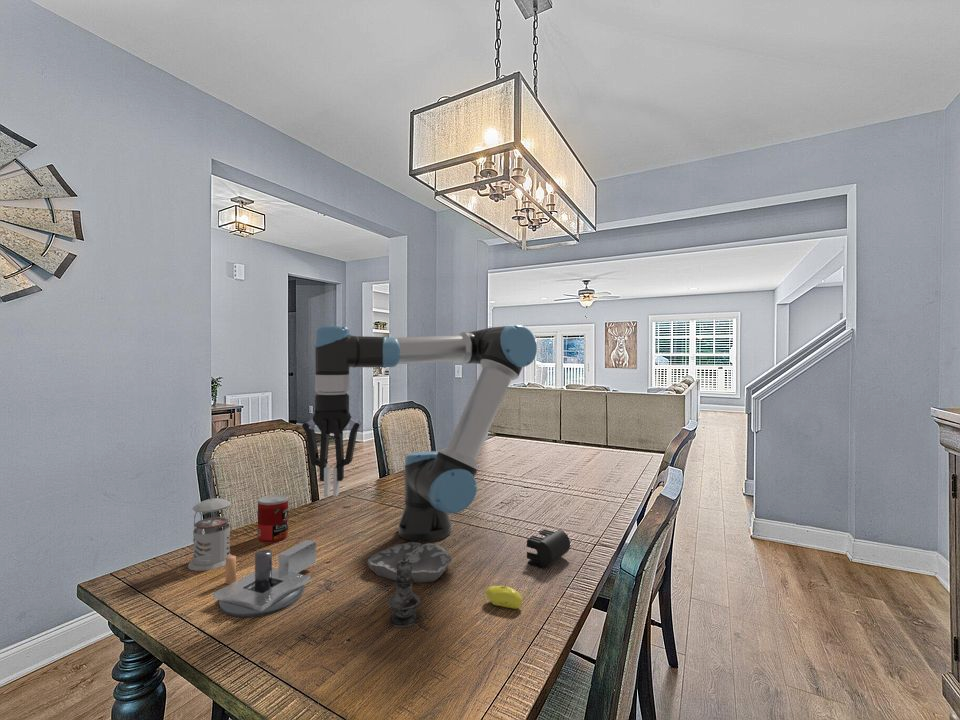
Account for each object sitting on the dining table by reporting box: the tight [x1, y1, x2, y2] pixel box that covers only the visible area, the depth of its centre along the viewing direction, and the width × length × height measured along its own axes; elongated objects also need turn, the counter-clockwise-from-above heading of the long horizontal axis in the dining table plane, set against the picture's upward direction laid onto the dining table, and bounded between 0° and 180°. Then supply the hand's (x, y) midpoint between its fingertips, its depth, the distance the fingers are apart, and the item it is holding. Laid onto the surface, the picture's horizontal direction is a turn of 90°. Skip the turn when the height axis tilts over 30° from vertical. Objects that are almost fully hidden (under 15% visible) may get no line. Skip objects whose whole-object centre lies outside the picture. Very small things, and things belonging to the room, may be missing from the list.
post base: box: [218, 549, 305, 618], centre depth 95 cm, size 16×16×9 cm
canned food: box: [257, 494, 290, 544], centre depth 126 cm, size 8×8×11 cm
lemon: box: [484, 585, 524, 610], centre depth 92 cm, size 4×8×4 cm, turn 61°
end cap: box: [526, 529, 571, 570], centre depth 112 cm, size 10×7×7 cm
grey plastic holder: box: [212, 539, 317, 612], centre depth 98 cm, size 20×13×5 cm, turn 159°
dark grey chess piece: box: [388, 557, 421, 628], centre depth 87 cm, size 6×6×12 cm
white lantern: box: [187, 459, 234, 572], centre depth 111 cm, size 10×12×25 cm
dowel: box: [225, 555, 237, 586], centre depth 101 cm, size 2×2×6 cm
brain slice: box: [367, 541, 453, 584], centre depth 108 cm, size 20×17×3 cm
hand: (331, 494), depth 104 cm, fingers closed
